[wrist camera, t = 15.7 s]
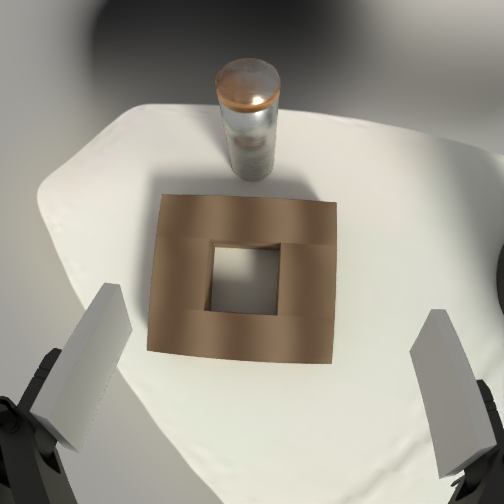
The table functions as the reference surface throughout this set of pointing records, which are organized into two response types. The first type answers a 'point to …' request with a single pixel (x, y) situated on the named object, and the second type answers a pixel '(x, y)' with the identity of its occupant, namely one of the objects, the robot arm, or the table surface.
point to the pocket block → (247, 237)
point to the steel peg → (249, 115)
